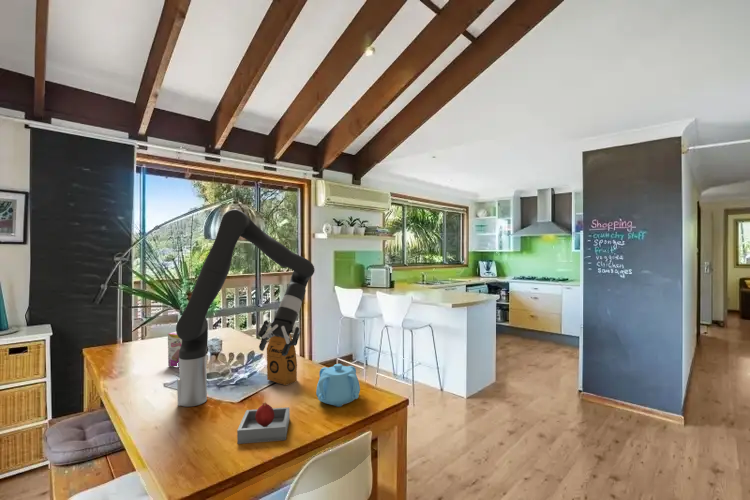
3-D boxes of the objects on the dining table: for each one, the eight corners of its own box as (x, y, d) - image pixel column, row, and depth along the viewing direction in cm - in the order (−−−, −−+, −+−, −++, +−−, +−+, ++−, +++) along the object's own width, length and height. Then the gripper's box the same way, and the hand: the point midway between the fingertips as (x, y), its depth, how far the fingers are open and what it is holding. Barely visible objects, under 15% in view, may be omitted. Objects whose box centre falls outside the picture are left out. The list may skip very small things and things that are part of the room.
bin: (237, 443, 113) (237, 430, 113) (246, 422, 127) (246, 410, 127) (285, 440, 115) (285, 426, 115) (289, 419, 129) (289, 407, 129)
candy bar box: (167, 367, 185) (167, 333, 184) (176, 364, 189) (175, 331, 189) (185, 369, 181) (185, 335, 181) (193, 366, 186) (193, 332, 185)
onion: (258, 423, 124) (257, 398, 124) (276, 422, 124) (275, 397, 124) (253, 431, 118) (253, 406, 118) (272, 431, 118) (272, 405, 118)
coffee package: (282, 388, 157) (282, 334, 156) (263, 381, 164) (263, 330, 164) (301, 380, 165) (300, 330, 164) (282, 375, 172) (281, 326, 172)
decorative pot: (359, 409, 136) (359, 371, 136) (313, 410, 136) (313, 372, 135) (360, 392, 152) (360, 358, 152) (319, 392, 152) (319, 358, 152)
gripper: (267, 302, 139) (249, 345, 131) (303, 309, 136) (287, 354, 128) (274, 310, 146) (258, 351, 138) (309, 317, 142) (294, 360, 134)
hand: (272, 352), depth 133 cm, fingers open, 8 cm apart
